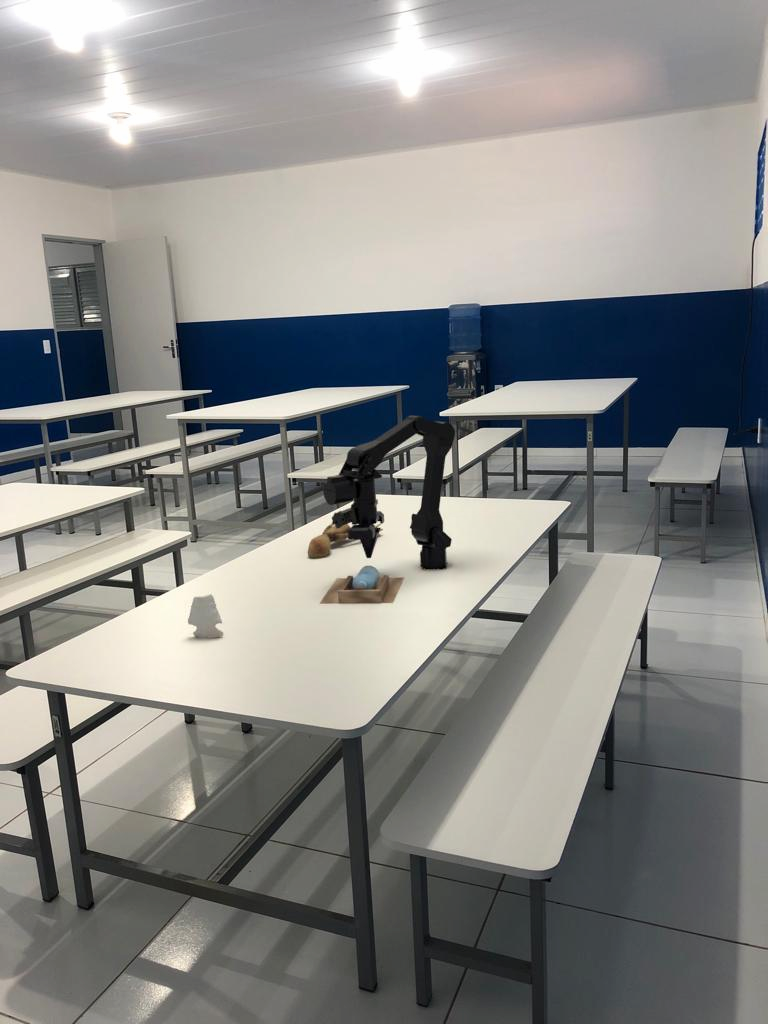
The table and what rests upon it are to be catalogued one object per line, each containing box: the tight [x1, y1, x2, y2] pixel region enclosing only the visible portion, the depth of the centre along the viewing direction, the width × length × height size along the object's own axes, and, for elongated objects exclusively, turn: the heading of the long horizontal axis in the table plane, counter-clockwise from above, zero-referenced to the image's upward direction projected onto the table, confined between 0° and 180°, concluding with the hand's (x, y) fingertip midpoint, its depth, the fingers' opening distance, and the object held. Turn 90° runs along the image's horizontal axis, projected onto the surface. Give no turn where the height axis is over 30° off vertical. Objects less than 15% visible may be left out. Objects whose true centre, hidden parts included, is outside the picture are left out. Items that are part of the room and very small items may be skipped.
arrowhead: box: [187, 593, 224, 638], centre depth 186 cm, size 8×2×10 cm, turn 81°
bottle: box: [353, 565, 380, 590], centre depth 209 cm, size 5×5×11 cm
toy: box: [307, 522, 384, 559], centre depth 257 cm, size 17×8×30 cm
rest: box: [319, 574, 405, 605], centre depth 211 cm, size 18×20×4 cm
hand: (369, 557), depth 214 cm, fingers closed
